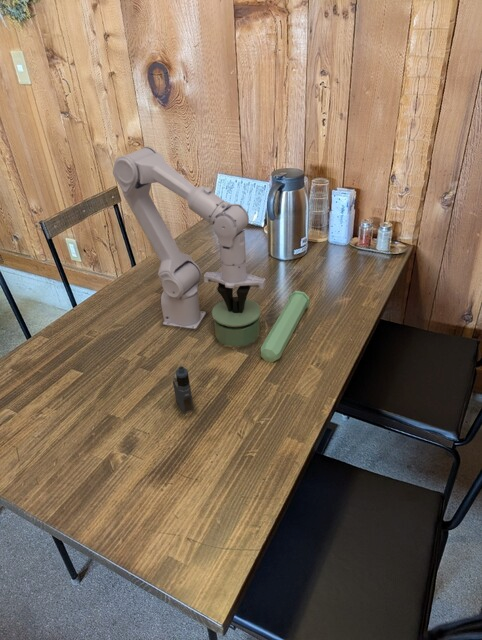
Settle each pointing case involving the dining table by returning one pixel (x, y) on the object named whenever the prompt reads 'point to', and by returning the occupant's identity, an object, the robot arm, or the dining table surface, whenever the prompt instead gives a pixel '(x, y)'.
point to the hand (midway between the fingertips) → (236, 309)
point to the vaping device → (183, 390)
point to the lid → (236, 313)
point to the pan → (237, 334)
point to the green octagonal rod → (284, 326)
